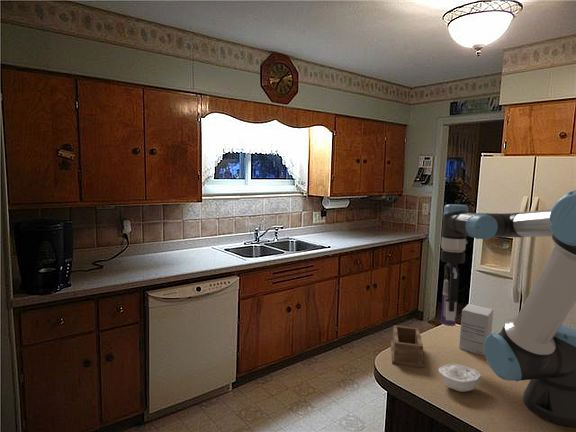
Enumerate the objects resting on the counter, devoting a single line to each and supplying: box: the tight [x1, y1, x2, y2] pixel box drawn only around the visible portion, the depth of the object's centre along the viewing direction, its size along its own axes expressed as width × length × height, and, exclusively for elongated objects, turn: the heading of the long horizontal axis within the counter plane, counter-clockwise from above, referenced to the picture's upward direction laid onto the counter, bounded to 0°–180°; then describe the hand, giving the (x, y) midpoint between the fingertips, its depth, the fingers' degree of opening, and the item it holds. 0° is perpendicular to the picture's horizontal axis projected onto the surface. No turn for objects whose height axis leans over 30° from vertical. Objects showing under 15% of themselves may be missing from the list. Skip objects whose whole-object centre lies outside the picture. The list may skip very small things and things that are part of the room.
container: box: [440, 279, 458, 327], centre depth 129 cm, size 5×5×15 cm
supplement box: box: [458, 303, 494, 357], centre depth 139 cm, size 9×9×15 cm
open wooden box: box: [390, 324, 425, 369], centre depth 133 cm, size 16×10×7 cm, turn 166°
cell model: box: [438, 363, 482, 393], centre depth 113 cm, size 10×12×7 cm
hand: (448, 317), depth 130 cm, fingers closed on container, 5 cm apart
